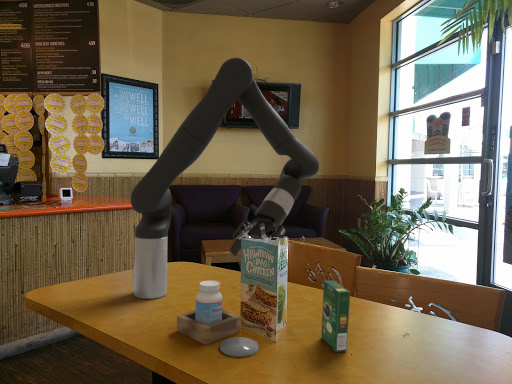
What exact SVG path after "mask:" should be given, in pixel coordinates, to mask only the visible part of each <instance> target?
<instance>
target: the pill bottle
mask: <svg viewBox="0 0 512 384" xmlns="http://www.w3.org/2000/svg"><path fill="white" fill-rule="evenodd" d="M220 284H221V283H220V282H219V281H217V280H202V281H200V282H199V286H198V288H199V290H200V291H199V292H197V294H196V296H195V310H196V315H195V321H197V322H200V323H202V324H204V325H206V326H207V325H210V324H213V323H216V322H219V321H222V310H223V294H222V293H221V292H219V291H220V289H221V288H220V287H221V286H220Z"/></svg>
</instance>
